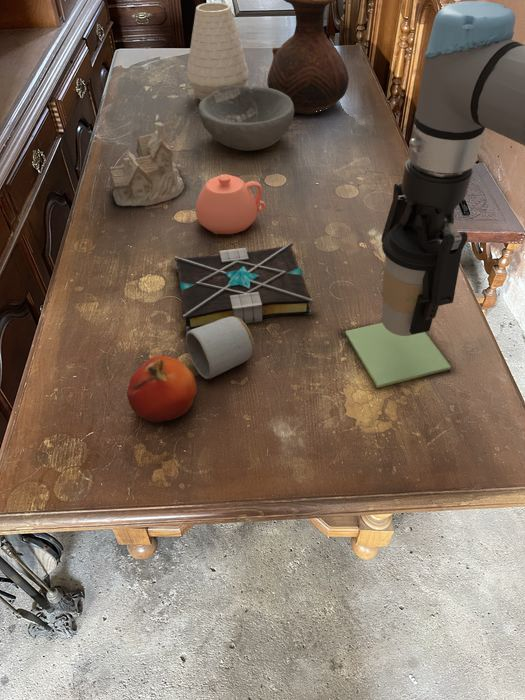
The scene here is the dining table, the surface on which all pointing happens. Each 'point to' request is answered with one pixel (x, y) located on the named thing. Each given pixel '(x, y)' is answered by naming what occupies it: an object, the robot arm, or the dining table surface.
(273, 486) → the dining table surface
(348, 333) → the sage mat
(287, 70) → the jug
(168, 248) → the dining table surface
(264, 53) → the dining table surface
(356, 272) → the dining table surface
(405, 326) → the coffee cup
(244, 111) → the bowl
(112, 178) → the ceramic cottage
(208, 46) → the vase
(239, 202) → the sugar bowl
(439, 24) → the robot arm
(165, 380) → the tomato
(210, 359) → the ceramic mug
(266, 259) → the book
